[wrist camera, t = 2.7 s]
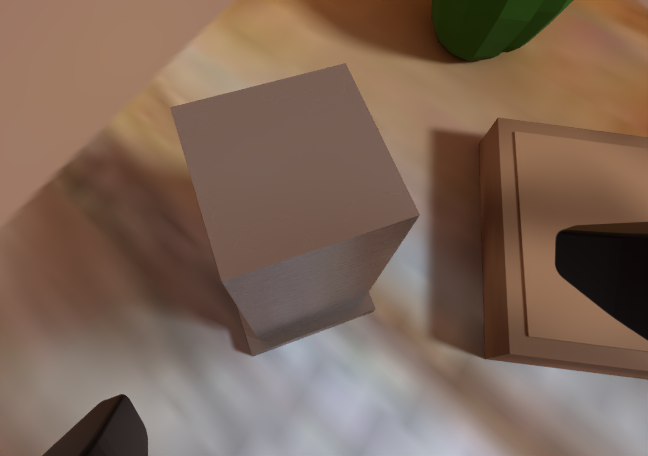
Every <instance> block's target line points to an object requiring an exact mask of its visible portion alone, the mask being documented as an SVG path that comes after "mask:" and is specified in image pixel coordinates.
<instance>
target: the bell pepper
mask: <svg viewBox="0 0 648 456" xmlns="http://www.w3.org/2000/svg"><path fill="white" fill-rule="evenodd" d="M572 1H573V0H432V20H433V24H434V28H435V32H436V35H437V39H438V42H440V43H441V44H442V45H443V46H444V47H445V48H446V49H447V50H448V51H449V52H450V53H451V54H452V55H455V56H457V57H459V58H462V59H464V60H467V61H476V60H484V59H490V58H493V57H495V56H498V55H499V54H500V53H501V52H510V51H512V50H515V49H518V48H520V47H521V46H523V45H524V44H526V43H527V42H529V41H530V40H531V39H532V38H533V37H535V36H536V35H537V34H538V33H539V32H540V31H541V30H543V29H544V28H545V27H546V26H547V25H548V24H549V23H550V22H551V21H552V20H554V19H555V18H556V17H557V16H558V15H559V14H560V13H561V12H562V11H563V10H564V9H565V8H566V7H567V6H568V5H569V4H570V3H571V2H572Z"/></svg>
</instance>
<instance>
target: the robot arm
mask: <svg viewBox="0 0 648 456" xmlns="http://www.w3.org/2000/svg"><path fill="white" fill-rule="evenodd" d="M555 267H556V270H557V272H558V273H559V275H560V276H561V277H562V278H563V279H565V280H566V281H567V282H568V283H570V284H571V285H572V286H573V287H575V288H576V289H577V290H578V291H580V292H581V293H582V294H583V295H585V296H586V297H587V298H588V299H590V300H591V301H592V302H594V303H595V304H596V305H597V306H599V307H600V308H601V309H602V310H604V311H605V312H606V313H608V314H609V315H610V316H612V317H613V318H614V319H616V320H617V321H619V322H620V323H621V324H623V325H624V326H626V327H627V328H629V329H631V330H632V331H634V332H635V333H637V334H638V335H640V336H641V337H643V338H644V339H646V340H647V341H648V222H629V223H609V224H589V225H575V226H571V227H568V228H566V229H563V230H561V231H559V232H558V233H557V235H556V239H555ZM42 456H148V437H147V432H146V428H145V426H144V423H143V422H142V420H141V418H140V416H139V415H138V413H137V411H136V410H135V408H134V406H133V404H132V403H131V401H130V399H129V398H128V397H127V396H126V395H124V394H121V395H118V396H115V397H112V398H110V399H107V400H104V401H102V402H100V403H99V404H98V405H97V406H96V407H95V408H93V409H92V410H91V411H90V412H89V413H88V414H87V415H86V416H85V417H84V418H83V419H81V420H80V421H79V422H78V423H77V424H76V425H75V426H74V427H73V428H72V429H71V430H70V431H68V432H67V433H66V434H65V435H64V436H63V437H62V438H61V439H60V440H59V441H58V442H56V443H55V444H54V445H53V446H52V447H51V448H50V449H49V450H48V451H47V452H46V453H44V454H43V455H42Z"/></svg>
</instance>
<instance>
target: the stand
mask: <svg viewBox="0 0 648 456" xmlns="http://www.w3.org/2000/svg"><path fill="white" fill-rule="evenodd" d="M479 162H480V196H481V231H482V265H483V299H484V333H485V359H489V360H497V361H505V362H513V363H521V364H529V365H537V366H545V367H553V368H561V369H569V370H577V371H585V372H593V373H601V374H609V375H617V376H625V377H633V378H641V379H648V341H647V340H646V339H644V338H643V337H641V336H640V335H638V334H637V333H635V332H634V331H632V330H631V329H629V328H627V327H626V326H624V325H623V324H621V323H620V322H619V321H617V320H616V319H614V318H613V317H612V316H610V315H609V314H608V313H606V312H605V311H604V310H602V309H601V308H600V307H599V306H597V305H596V304H595V303H594V302H592V301H591V300H590V299H588V298H587V297H586V296H585V295H583V294H582V293H581V292H580V291H578V290H577V289H576V288H575V287H573V286H572V285H571V284H570V283H568V282H567V281H566V280H565V279H563V278H562V277H561V276H560V275H559V273H558V272H557V270H556V267H555V239H556V235H557V233H558V232H559V231H561V230H563V229H566V228H568V227H571V226H575V225H589V224H609V223H629V222H648V137H640V136H633V135H625V134H618V133H610V132H603V131H595V130H588V129H580V128H572V127H565V126H557V125H550V124H542V123H535V122H527V121H520V120H512V119H504V118H497V120H496V121H495V122H494V124H493V125H492V127H491V128H490V129H489V131H488V132H487V134H486V135H485V136H484V138H483V139H482V141H481V142H480V143H479Z"/></svg>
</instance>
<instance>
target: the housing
mask: <svg viewBox="0 0 648 456" xmlns="http://www.w3.org/2000/svg"><path fill="white" fill-rule="evenodd" d="M171 111H172V115H173V118H174V122H175V125H176V129H177V132H178V135H179V139H180V142H181V146H182V149H183V152H184V156H185V159H186V163H187V166H188V169H189V173H190V176H191V180H192V183H193V186H194V190H195V193H196V197H197V200H198V204H199V207H200V210H201V214H202V217H203V221H204V224H205V227H206V231H207V234H208V238H209V241H210V244H211V248H212V251H213V255H214V258H215V262H216V265H217V268H218V272H219V275H220V279H221V282H222V283H223V285H224V286H225V288H226V289H227V291H228V293H229V294H230V296H231V297H232V299H233V300H234V302H235V303H236V305H237V308H238V312H239V315H240V318H241V322H242V325H243V328H244V332H245V335H246V338H247V342H248V345H249V348H250V352H251V355H252V356H256V355H258V354H261V353H264V352H267V351H269V350H272V349H275V348H277V347H280V346H283V345H285V344H288V343H291V342H293V341H296V340H299V339H301V338H304V337H307V336H310V335H312V334H315V333H318V332H320V331H323V330H326V329H328V328H331V327H334V326H336V325H339V324H342V323H345V322H347V321H350V320H353V319H355V318H358V317H361V316H363V315H366V314H369V313H371V312H373V311H374V310H375V306H374V304H373V302H372V299H371V297H370V294H369V291H370V289H371V288H372V286H373V285H374V283H375V282H376V280H377V279H378V277H379V276H380V274H381V273H382V271H383V270H384V268H385V267H386V265H387V264H388V262H389V261H390V259H391V258H392V256H393V255H394V253H395V252H396V250H397V249H398V247H399V246H400V244H401V243H402V241H403V240H404V238H405V237H406V235H407V234H408V232H409V231H410V229H411V228H412V226H413V225H414V223H415V222H416V220H417V219H418V217H419V216H420V214H419V212H418V210H417V208H416V206H415V204H414V202H413V200H412V198H411V196H410V194H409V192H408V190H407V188H406V186H405V184H404V182H403V180H402V178H401V175H400V173H399V171H398V169H397V167H396V165H395V163H394V161H393V159H392V157H391V155H390V153H389V151H388V149H387V147H386V145H385V143H384V141H383V139H382V137H381V135H380V133H379V131H378V129H377V126H376V124H375V122H374V120H373V118H372V116H371V114H370V112H369V110H368V108H367V106H366V104H365V102H364V100H363V98H362V96H361V94H360V92H359V90H358V88H357V86H356V84H355V82H354V80H353V77H352V75H351V73H350V71H349V69H348V67H347V65H346V63H345V64H341V65H337V66H333V67H329V68H325V69H321V70H317V71H313V72H309V73H305V74H301V75H297V76H294V77H290V78H286V79H282V80H278V81H274V82H270V83H266V84H262V85H258V86H254V87H250V88H246V89H242V90H238V91H234V92H230V93H226V94H222V95H218V96H214V97H210V98H206V99H202V100H198V101H194V102H190V103H186V104H182V105H178V106H174V107H171Z"/></svg>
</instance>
